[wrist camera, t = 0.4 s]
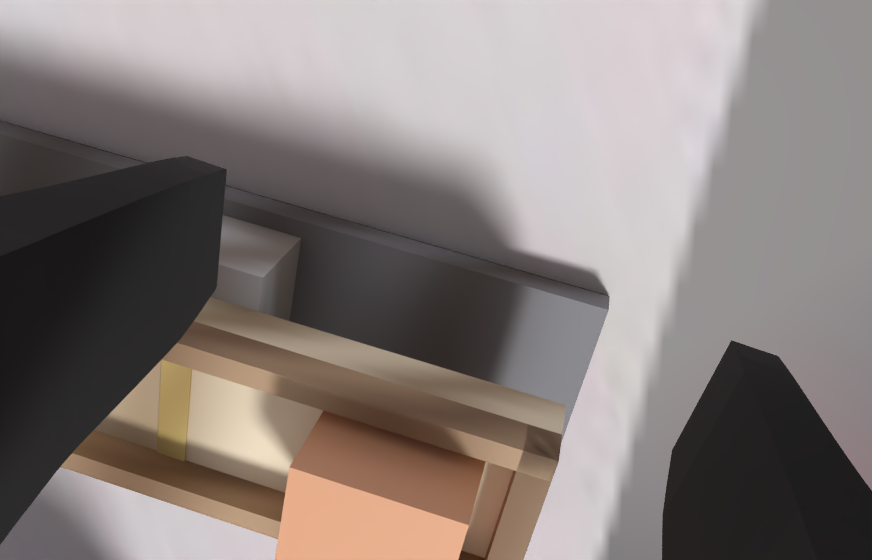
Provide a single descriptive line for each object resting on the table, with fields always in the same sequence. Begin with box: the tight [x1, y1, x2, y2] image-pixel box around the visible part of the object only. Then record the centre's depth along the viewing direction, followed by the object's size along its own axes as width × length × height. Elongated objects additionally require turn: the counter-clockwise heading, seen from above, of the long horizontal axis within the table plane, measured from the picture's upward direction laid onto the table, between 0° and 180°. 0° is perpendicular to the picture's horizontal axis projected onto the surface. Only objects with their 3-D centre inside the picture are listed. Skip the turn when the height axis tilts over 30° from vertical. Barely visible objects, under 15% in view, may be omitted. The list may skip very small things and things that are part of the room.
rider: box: [275, 410, 486, 560], centre depth 19 cm, size 4×3×2 cm
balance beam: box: [0, 121, 609, 560], centre depth 22 cm, size 20×8×6 cm, turn 78°
